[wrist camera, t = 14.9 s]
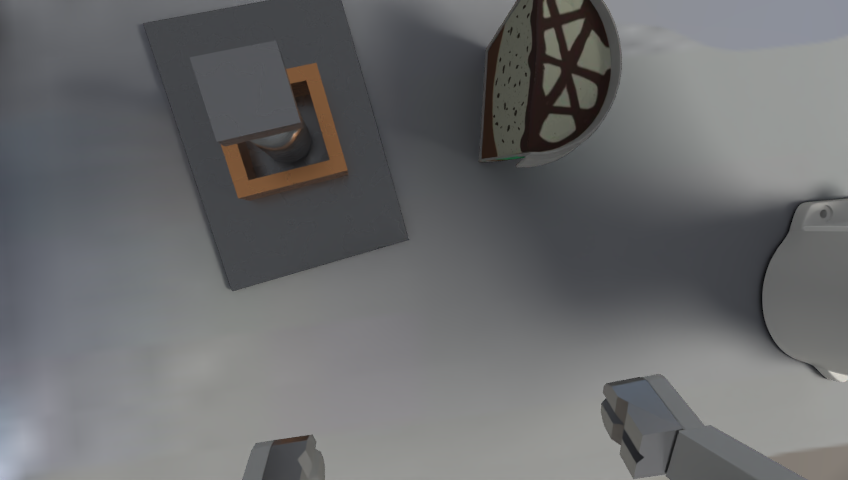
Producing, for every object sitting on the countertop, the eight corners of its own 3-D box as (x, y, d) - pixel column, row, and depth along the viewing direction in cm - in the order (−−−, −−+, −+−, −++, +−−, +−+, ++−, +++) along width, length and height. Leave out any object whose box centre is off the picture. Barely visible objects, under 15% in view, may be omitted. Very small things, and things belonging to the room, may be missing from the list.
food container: (545, 185, 34) (622, 171, 24) (477, 179, 33) (530, 162, 23) (555, 41, 34) (637, -33, 24) (486, 31, 33) (544, -51, 23)
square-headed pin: (304, 106, 30) (276, 40, 19) (319, 158, 30) (300, 122, 19) (251, 119, 29) (189, 57, 18) (267, 171, 30) (216, 141, 19)
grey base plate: (338, -9, 30) (336, -38, 27) (407, 239, 32) (414, 241, 29) (146, 26, 28) (118, 0, 25) (233, 290, 30) (218, 299, 27)
